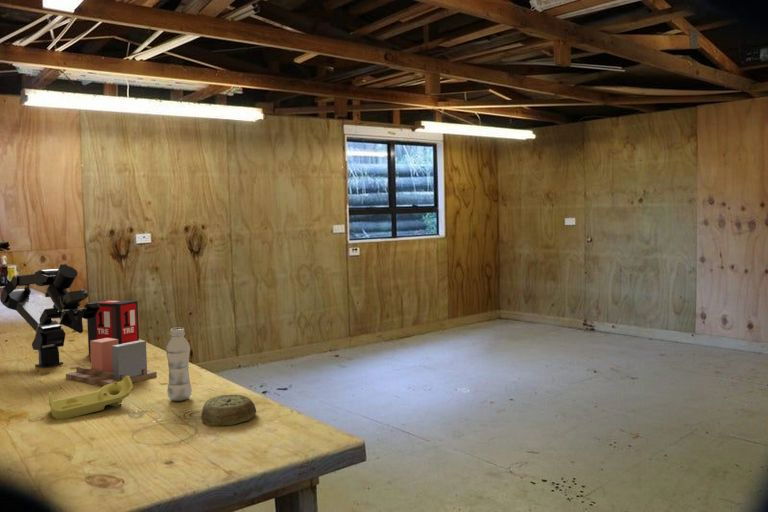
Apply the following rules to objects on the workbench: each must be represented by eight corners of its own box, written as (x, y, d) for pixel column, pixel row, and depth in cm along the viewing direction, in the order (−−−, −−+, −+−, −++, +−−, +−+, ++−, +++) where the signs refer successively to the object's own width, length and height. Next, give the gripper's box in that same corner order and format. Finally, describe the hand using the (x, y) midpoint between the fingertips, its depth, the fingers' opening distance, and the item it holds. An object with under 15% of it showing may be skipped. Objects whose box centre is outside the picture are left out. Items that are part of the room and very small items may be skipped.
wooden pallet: (66, 378, 195) (65, 368, 195) (111, 368, 208) (110, 358, 208) (111, 388, 182) (111, 377, 182) (156, 376, 196) (156, 366, 195)
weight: (227, 431, 142) (226, 410, 142) (188, 422, 150) (188, 402, 149) (267, 415, 154) (266, 396, 154) (229, 407, 161) (229, 389, 161)
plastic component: (52, 413, 151) (47, 388, 158) (55, 435, 154) (49, 409, 162) (136, 393, 162) (127, 371, 169) (136, 414, 165) (128, 391, 172)
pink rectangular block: (91, 371, 196) (90, 340, 195) (108, 367, 201) (107, 337, 200) (102, 373, 193) (101, 342, 192) (119, 369, 198) (118, 339, 197)
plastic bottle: (169, 404, 164) (166, 331, 163) (166, 398, 170) (163, 328, 169) (194, 401, 167) (191, 329, 166) (189, 395, 173) (187, 326, 172)
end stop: (113, 379, 186) (111, 345, 186) (141, 372, 195) (140, 340, 194) (119, 380, 185) (117, 346, 184) (147, 373, 193) (146, 340, 193)
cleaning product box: (139, 352, 234) (137, 301, 233) (121, 357, 225) (119, 304, 224) (107, 349, 240) (105, 299, 239) (88, 354, 232) (86, 302, 231)
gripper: (42, 284, 197) (63, 320, 191) (95, 279, 212) (116, 312, 207) (30, 307, 201) (50, 343, 196) (83, 300, 217) (103, 333, 212)
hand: (81, 332), depth 203 cm, fingers closed
